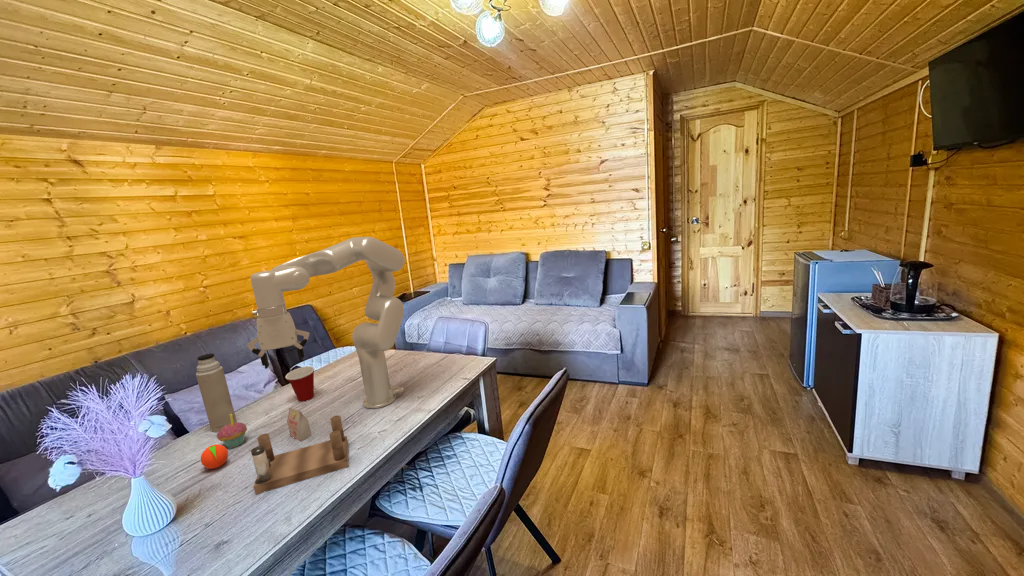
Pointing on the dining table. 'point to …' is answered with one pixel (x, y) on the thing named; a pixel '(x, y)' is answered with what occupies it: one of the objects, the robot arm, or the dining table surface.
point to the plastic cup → (302, 382)
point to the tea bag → (298, 425)
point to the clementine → (214, 456)
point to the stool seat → (305, 459)
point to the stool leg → (261, 463)
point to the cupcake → (232, 433)
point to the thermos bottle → (214, 392)
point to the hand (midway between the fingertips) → (284, 363)
